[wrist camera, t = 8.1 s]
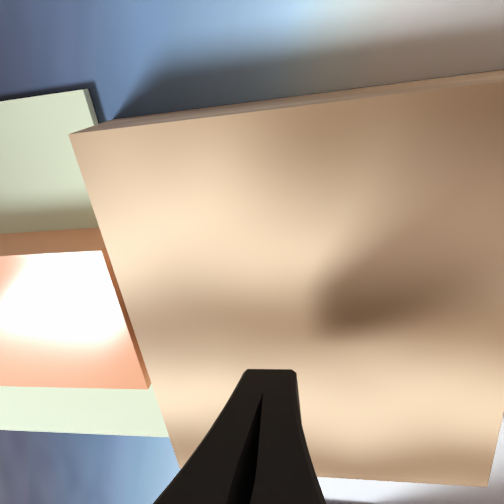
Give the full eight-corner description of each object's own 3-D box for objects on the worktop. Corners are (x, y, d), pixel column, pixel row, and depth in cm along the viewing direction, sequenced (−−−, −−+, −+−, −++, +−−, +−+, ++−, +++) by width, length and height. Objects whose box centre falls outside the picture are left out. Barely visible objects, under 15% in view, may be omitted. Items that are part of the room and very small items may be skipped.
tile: (165, 353, 17) (148, 389, 15) (-12, 352, 18) (-47, 385, 17) (128, 225, 14) (100, 250, 12) (-76, 238, 16) (-125, 262, 14)
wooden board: (464, 428, 16) (486, 486, 14) (195, 419, 19) (179, 468, 17) (523, 67, 10) (579, 72, 8) (111, 119, 13) (67, 134, 10)
